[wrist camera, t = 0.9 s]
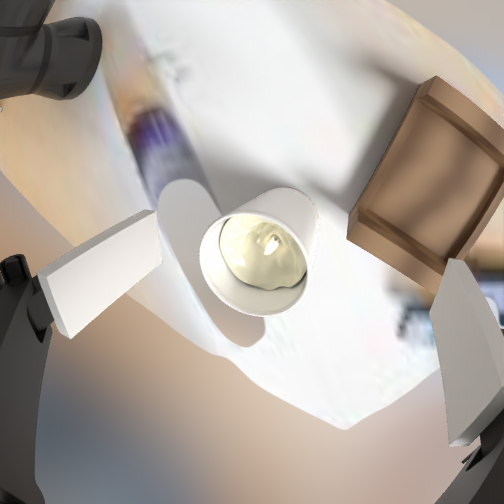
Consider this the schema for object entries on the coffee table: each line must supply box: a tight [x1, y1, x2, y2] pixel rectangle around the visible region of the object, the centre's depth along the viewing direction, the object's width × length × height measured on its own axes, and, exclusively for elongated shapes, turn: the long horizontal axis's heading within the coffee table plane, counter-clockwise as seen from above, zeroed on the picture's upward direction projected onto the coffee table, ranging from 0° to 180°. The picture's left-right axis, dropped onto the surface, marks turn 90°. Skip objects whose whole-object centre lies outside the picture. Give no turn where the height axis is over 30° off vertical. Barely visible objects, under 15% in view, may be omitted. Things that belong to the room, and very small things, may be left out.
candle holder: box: [199, 187, 320, 317], centre depth 29 cm, size 10×10×12 cm
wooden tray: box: [346, 76, 504, 295], centre depth 23 cm, size 14×17×7 cm
